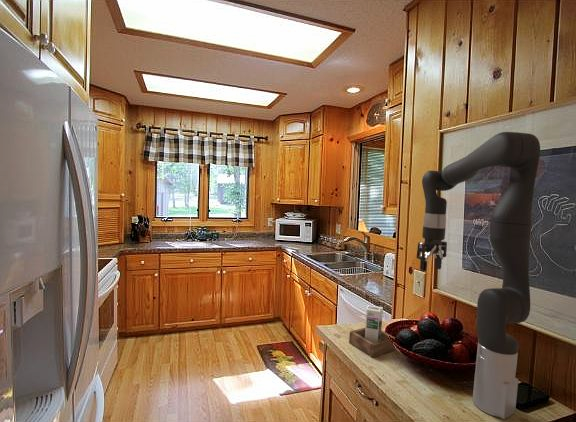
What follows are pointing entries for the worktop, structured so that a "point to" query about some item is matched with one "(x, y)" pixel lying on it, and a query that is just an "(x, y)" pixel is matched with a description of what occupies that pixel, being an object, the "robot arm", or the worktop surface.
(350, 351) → the worktop surface
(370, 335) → the syrup box
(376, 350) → the brown square open box
